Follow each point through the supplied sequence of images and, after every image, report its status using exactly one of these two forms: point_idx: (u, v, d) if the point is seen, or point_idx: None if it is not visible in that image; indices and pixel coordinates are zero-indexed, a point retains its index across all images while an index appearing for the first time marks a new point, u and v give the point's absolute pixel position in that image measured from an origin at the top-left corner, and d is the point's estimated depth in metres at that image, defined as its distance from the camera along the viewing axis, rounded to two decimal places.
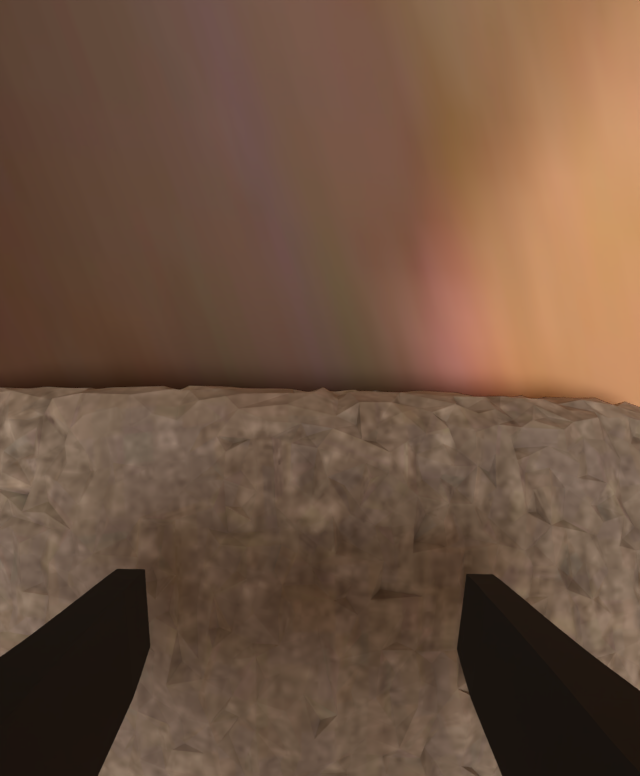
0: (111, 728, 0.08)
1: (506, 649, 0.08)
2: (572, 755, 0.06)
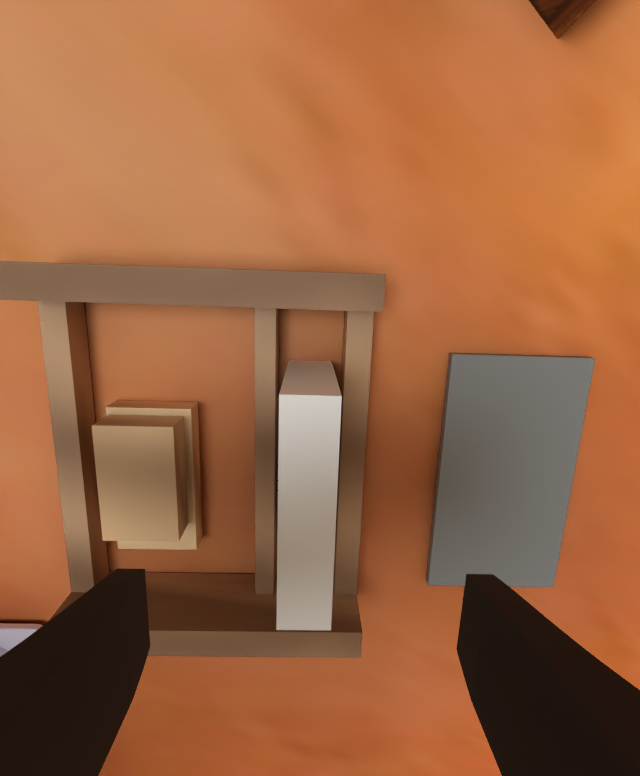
0: (111, 728, 0.08)
1: (506, 649, 0.08)
2: (572, 755, 0.06)
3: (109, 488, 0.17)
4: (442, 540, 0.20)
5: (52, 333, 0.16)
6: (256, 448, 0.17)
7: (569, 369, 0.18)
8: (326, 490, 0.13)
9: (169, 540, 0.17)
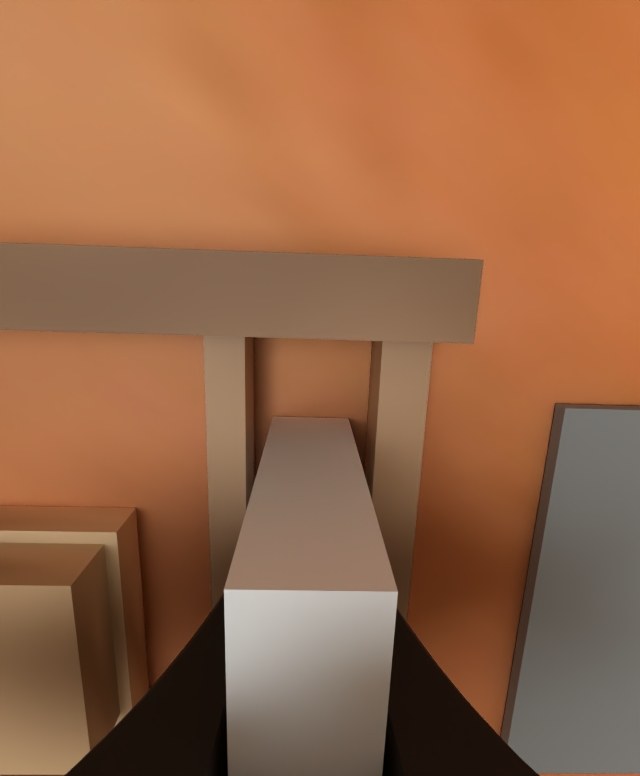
0: None
1: None
2: None
3: None
4: (529, 707, 0.12)
5: None
6: (213, 580, 0.10)
7: None
8: None
9: None
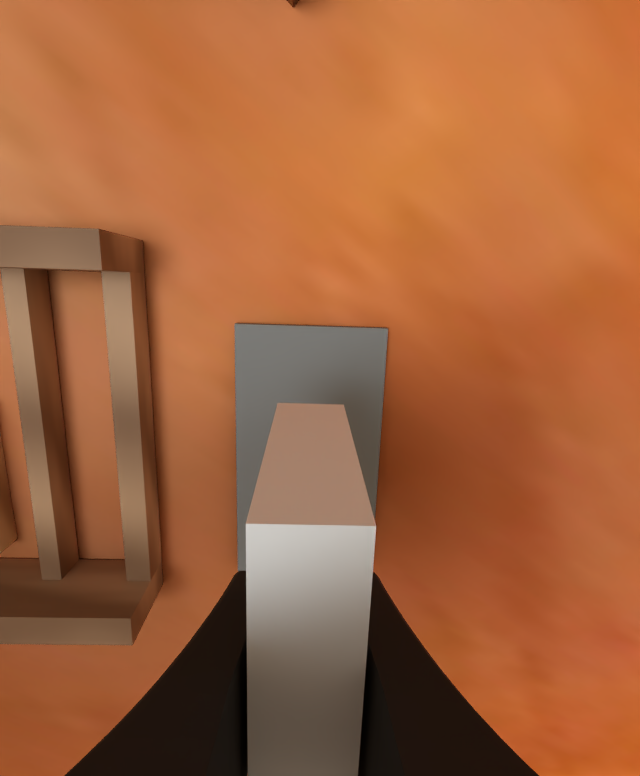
0: None
1: None
2: (382, 755, 0.06)
3: None
4: None
5: None
6: (23, 423, 0.16)
7: (361, 340, 0.17)
8: (341, 696, 0.07)
9: None
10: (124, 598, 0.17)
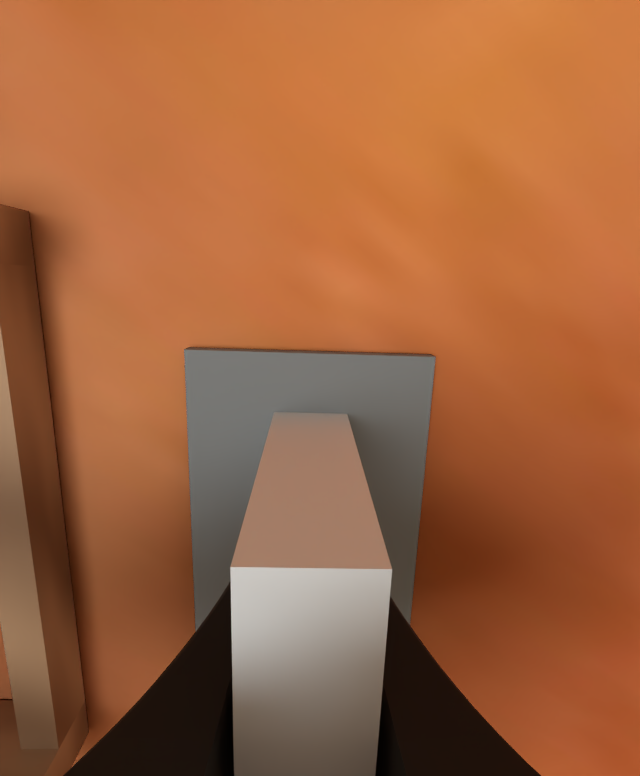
0: None
1: None
2: (384, 755, 0.06)
3: None
4: None
5: None
6: None
7: (392, 375, 0.10)
8: (348, 771, 0.06)
9: None
10: None
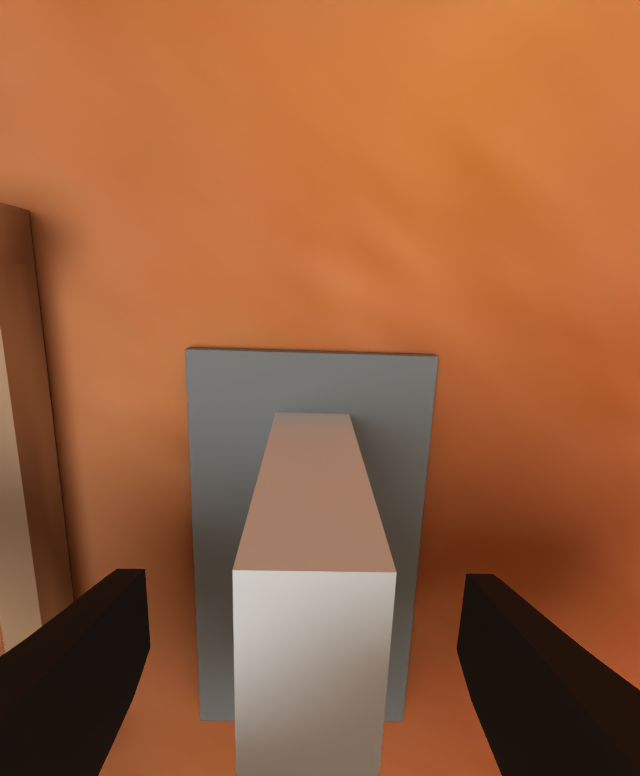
0: (112, 728, 0.08)
1: (506, 649, 0.08)
2: (572, 755, 0.06)
3: None
4: (213, 653, 0.12)
5: None
6: None
7: (394, 375, 0.10)
8: None
9: None
10: None
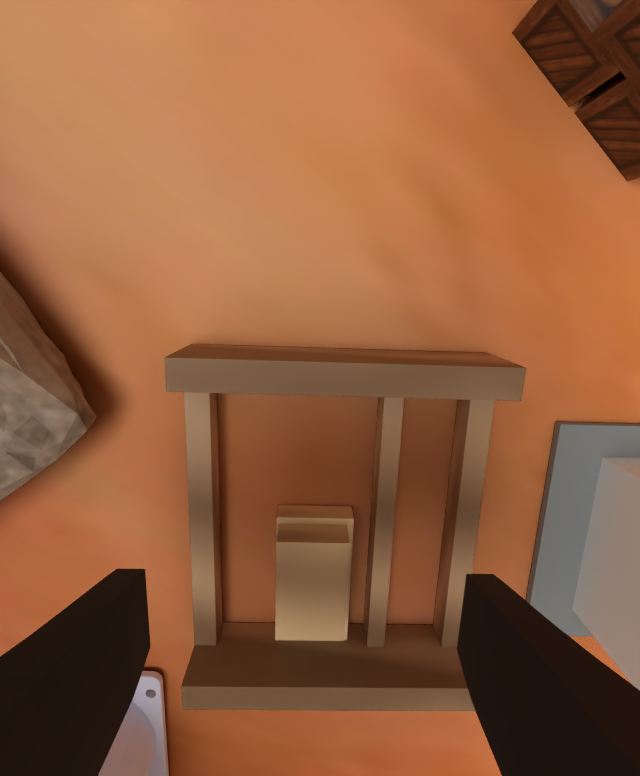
0: (112, 728, 0.08)
1: (506, 649, 0.08)
2: (572, 755, 0.06)
3: (286, 595, 0.18)
4: (540, 594, 0.21)
5: (194, 410, 0.17)
6: (377, 514, 0.19)
7: None
8: None
9: (334, 638, 0.19)
10: (456, 667, 0.19)
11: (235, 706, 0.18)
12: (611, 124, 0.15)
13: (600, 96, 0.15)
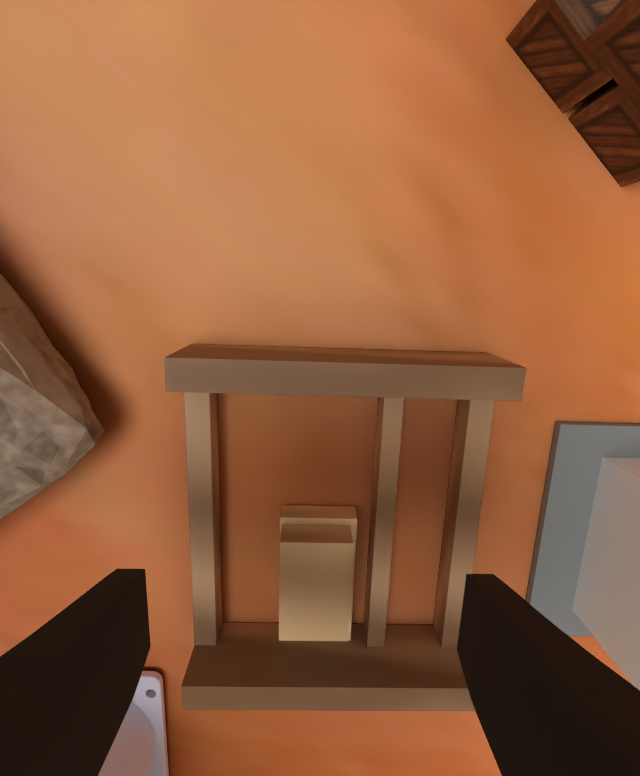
0: (112, 728, 0.08)
1: (506, 649, 0.08)
2: (572, 755, 0.06)
3: (289, 595, 0.18)
4: (540, 594, 0.21)
5: (194, 410, 0.17)
6: (377, 514, 0.19)
7: None
8: None
9: (338, 639, 0.19)
10: (456, 667, 0.19)
11: (235, 706, 0.18)
12: (604, 130, 0.16)
13: (593, 103, 0.15)
